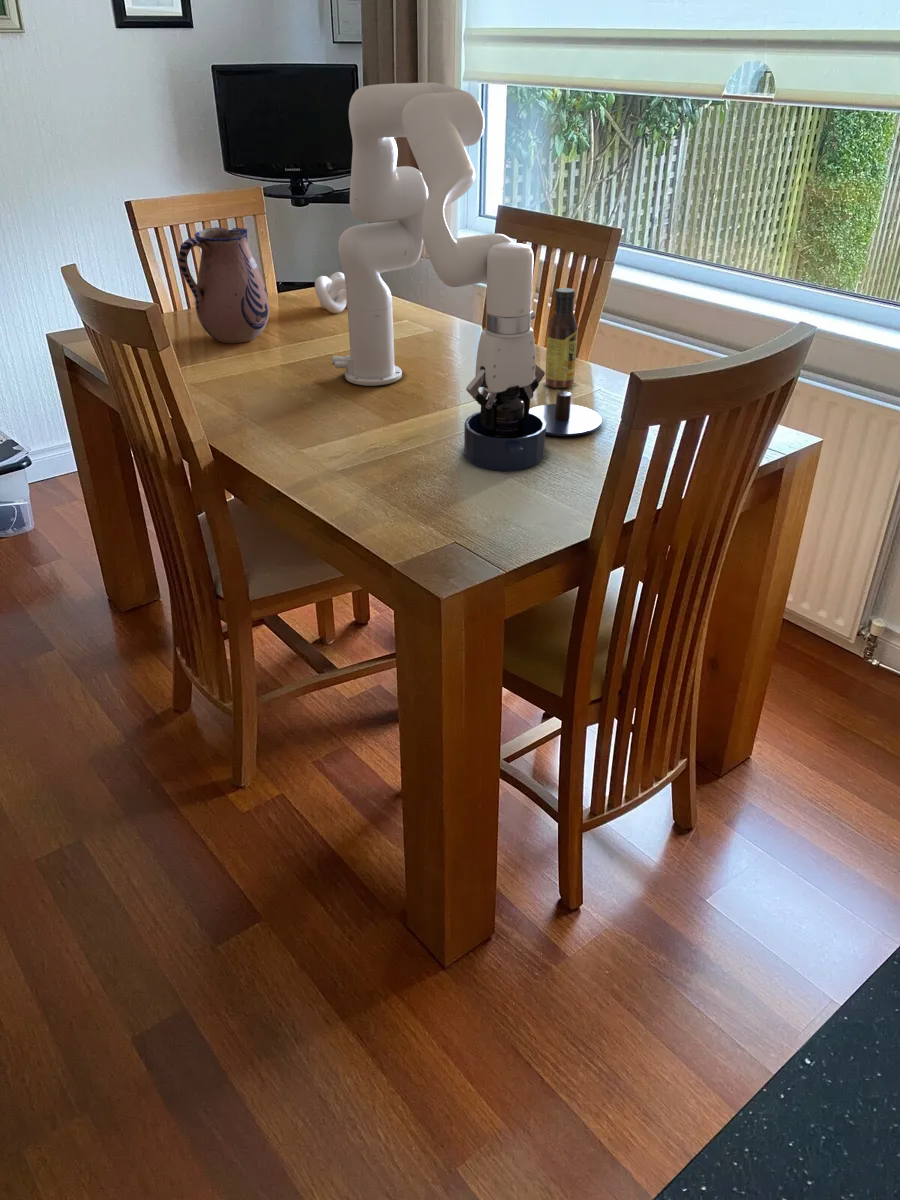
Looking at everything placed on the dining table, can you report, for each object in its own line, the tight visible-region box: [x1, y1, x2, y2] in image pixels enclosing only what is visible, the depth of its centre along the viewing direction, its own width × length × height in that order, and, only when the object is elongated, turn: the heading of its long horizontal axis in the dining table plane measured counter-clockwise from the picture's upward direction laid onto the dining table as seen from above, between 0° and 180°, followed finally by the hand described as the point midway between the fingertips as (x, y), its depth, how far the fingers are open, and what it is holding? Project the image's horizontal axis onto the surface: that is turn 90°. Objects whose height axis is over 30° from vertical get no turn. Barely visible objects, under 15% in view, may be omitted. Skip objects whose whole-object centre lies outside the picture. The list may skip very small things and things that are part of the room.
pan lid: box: [529, 390, 603, 437], centre depth 173 cm, size 15×15×6 cm
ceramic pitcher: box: [178, 226, 271, 344], centre depth 214 cm, size 18×21×25 cm
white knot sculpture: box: [314, 271, 347, 314], centre depth 240 cm, size 11×12×9 cm
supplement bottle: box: [486, 385, 525, 438], centre depth 159 cm, size 7×7×12 cm
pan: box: [463, 411, 547, 472], centre depth 161 cm, size 14×20×6 cm
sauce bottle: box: [545, 287, 579, 389], centre depth 188 cm, size 7×6×20 cm
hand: (505, 422), depth 160 cm, fingers closed on supplement bottle, 6 cm apart
